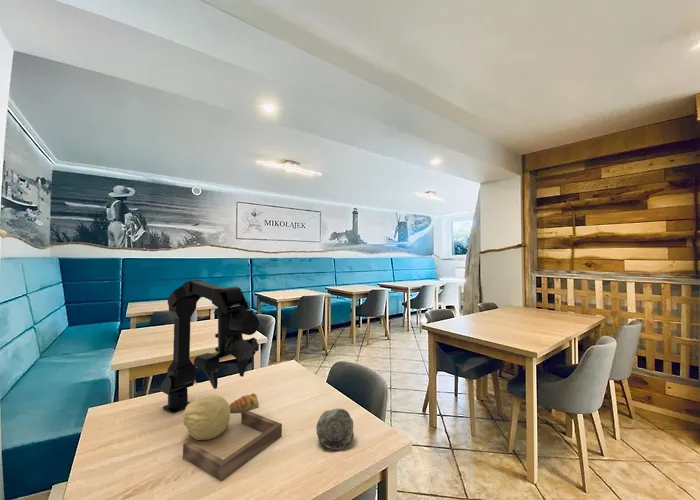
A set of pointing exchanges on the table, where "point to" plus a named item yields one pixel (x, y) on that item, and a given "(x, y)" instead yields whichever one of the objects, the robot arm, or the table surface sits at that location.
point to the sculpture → (206, 417)
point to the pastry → (244, 403)
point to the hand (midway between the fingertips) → (229, 382)
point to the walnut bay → (242, 455)
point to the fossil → (335, 429)
